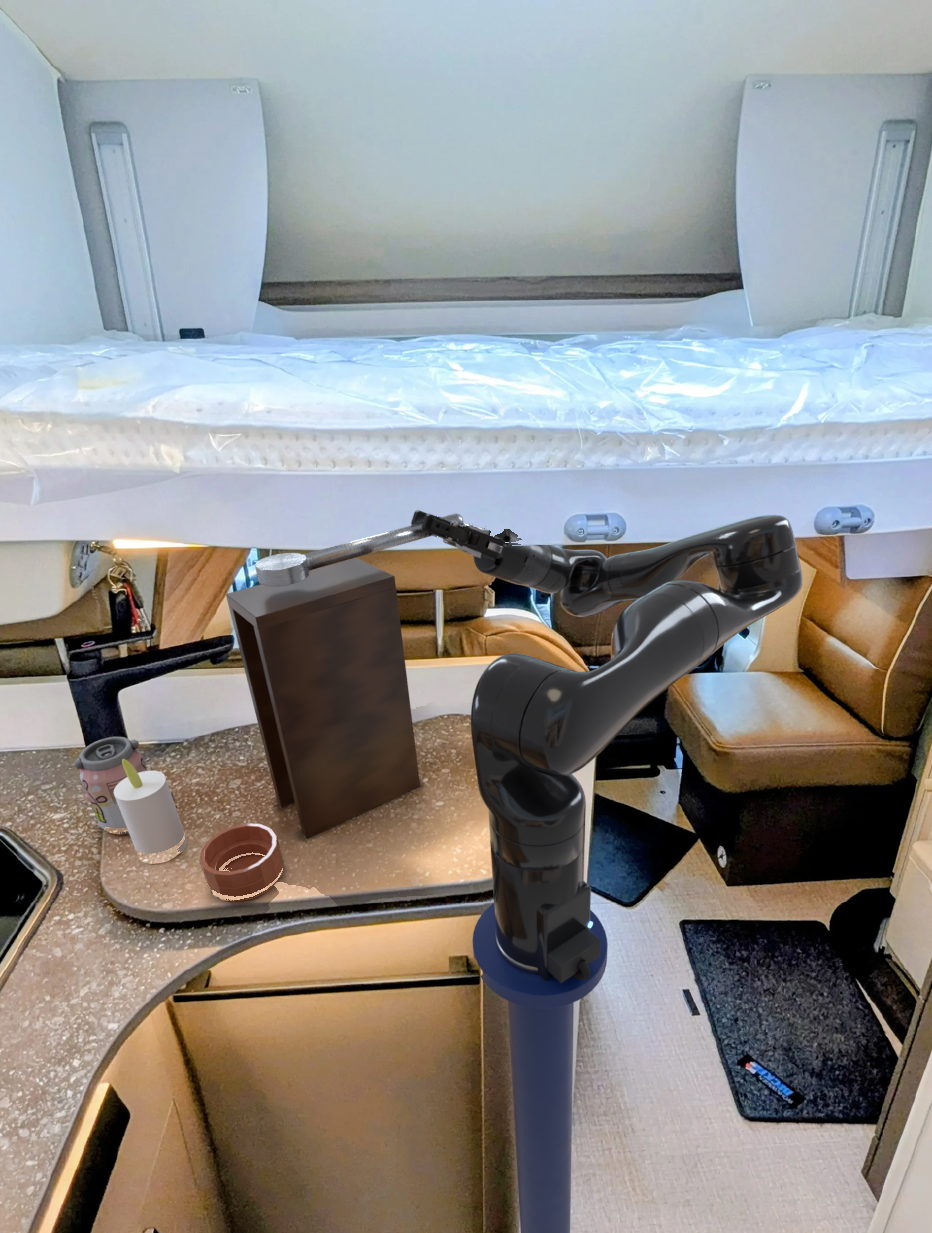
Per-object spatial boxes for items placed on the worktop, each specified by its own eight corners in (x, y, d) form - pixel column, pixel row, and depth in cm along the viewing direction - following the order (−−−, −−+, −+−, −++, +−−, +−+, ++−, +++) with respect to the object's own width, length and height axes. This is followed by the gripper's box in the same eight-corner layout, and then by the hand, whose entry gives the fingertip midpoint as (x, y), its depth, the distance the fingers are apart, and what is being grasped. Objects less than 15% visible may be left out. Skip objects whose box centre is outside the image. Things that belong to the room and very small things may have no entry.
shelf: (386, 756, 110) (356, 557, 94) (420, 786, 102) (394, 575, 86) (277, 803, 101) (225, 593, 85) (306, 839, 94) (255, 617, 78)
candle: (198, 842, 95) (167, 749, 88) (155, 871, 91) (119, 776, 83) (170, 826, 99) (139, 736, 91) (128, 853, 94) (91, 761, 87)
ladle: (450, 522, 98) (448, 508, 97) (475, 531, 93) (474, 516, 92) (251, 577, 85) (247, 561, 84) (270, 590, 80) (266, 573, 79)
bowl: (296, 882, 87) (288, 851, 85) (224, 917, 83) (213, 886, 80) (268, 843, 94) (260, 813, 91) (200, 874, 90) (190, 844, 87)
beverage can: (94, 813, 103) (65, 744, 97) (153, 790, 107) (128, 723, 101) (106, 846, 96) (76, 774, 90) (169, 821, 100) (144, 750, 94)
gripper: (492, 521, 107) (401, 483, 96) (554, 540, 97) (460, 499, 85) (475, 569, 108) (383, 536, 97) (534, 592, 98) (439, 559, 87)
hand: (420, 519), depth 91 cm, fingers closed on ladle, 2 cm apart
